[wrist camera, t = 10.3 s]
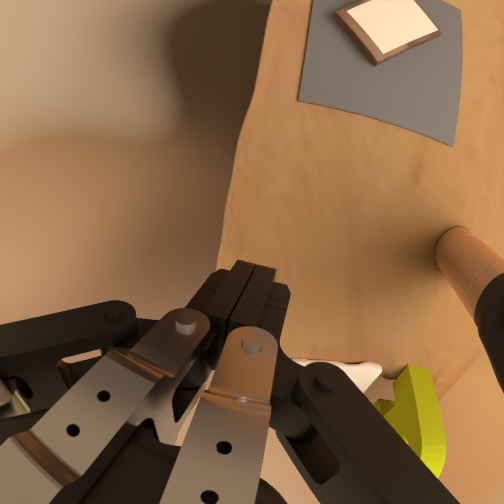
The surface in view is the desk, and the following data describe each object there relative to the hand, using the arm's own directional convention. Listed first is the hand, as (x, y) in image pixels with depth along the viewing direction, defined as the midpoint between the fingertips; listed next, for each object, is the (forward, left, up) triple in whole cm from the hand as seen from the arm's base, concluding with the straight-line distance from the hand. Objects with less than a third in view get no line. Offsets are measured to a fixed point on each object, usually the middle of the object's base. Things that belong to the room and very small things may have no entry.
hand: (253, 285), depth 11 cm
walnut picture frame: (-4, -23, -33) cm, 41 cm away
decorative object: (-35, +44, -35) cm, 66 cm away
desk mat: (-10, -25, -35) cm, 44 cm away
